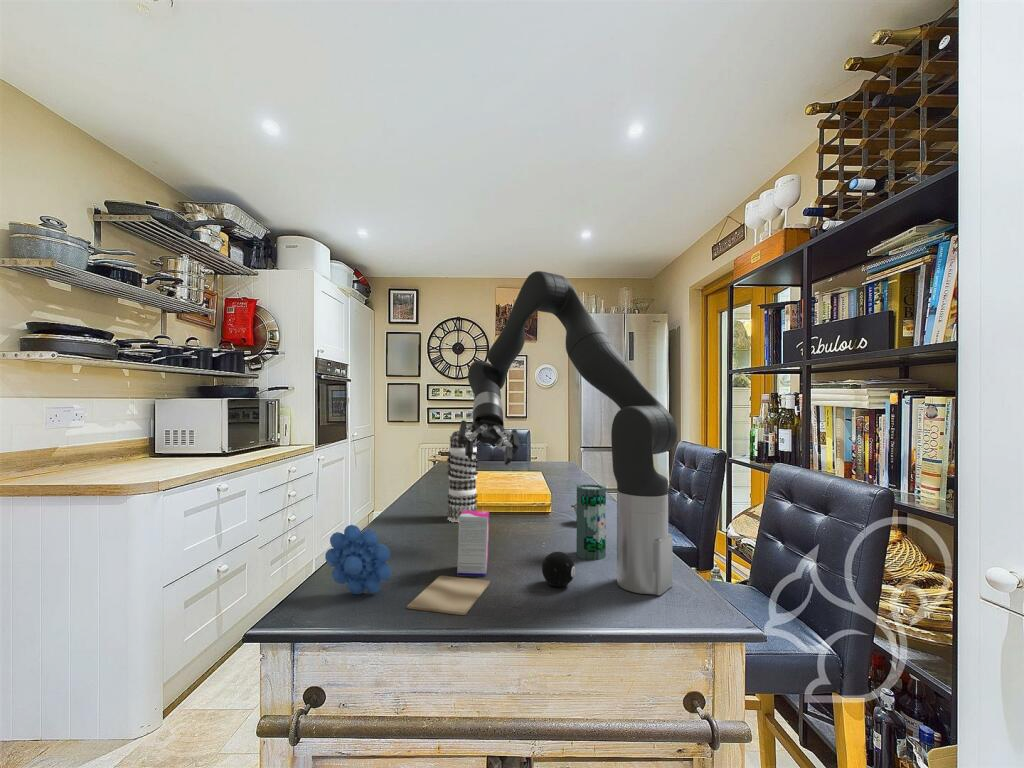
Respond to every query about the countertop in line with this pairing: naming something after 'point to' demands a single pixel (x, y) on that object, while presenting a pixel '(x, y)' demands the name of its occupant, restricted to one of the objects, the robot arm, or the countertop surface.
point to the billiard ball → (558, 569)
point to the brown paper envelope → (449, 595)
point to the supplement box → (473, 543)
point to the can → (591, 522)
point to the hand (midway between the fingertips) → (489, 459)
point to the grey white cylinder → (461, 478)
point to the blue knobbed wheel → (358, 560)
